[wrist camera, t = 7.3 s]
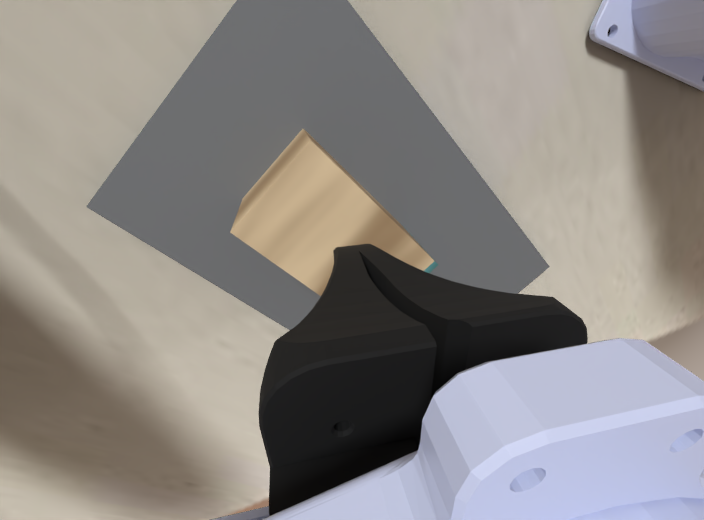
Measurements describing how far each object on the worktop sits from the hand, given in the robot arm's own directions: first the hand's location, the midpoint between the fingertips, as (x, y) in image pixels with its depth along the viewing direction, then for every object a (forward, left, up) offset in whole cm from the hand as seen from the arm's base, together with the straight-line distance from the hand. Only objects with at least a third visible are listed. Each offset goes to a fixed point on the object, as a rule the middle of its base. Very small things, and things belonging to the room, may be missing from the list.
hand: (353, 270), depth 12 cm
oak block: (-3, +2, -4) cm, 5 cm away
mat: (-2, +1, -6) cm, 7 cm away
